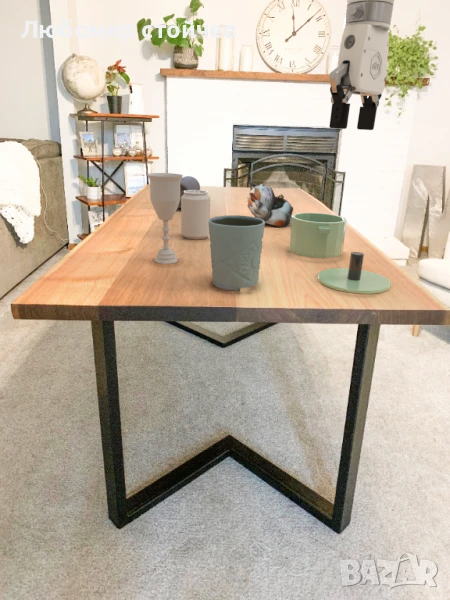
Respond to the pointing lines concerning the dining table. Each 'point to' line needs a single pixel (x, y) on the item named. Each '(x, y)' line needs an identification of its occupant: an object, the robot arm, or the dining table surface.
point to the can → (195, 214)
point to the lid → (354, 278)
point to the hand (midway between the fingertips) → (352, 129)
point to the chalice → (165, 208)
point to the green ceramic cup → (235, 250)
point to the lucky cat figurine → (269, 206)
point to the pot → (317, 235)
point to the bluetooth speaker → (188, 186)
